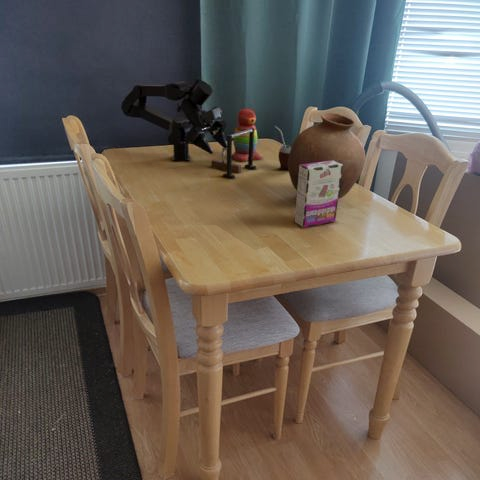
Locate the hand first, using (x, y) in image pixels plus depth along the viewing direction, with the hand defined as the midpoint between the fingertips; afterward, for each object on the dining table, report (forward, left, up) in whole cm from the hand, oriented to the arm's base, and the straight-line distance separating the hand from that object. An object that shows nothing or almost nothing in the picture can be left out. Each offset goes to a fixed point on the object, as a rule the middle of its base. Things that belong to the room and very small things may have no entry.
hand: (219, 150), depth 173 cm
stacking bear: (-15, +11, -6) cm, 19 cm away
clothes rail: (+5, +7, -6) cm, 11 cm away
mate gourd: (0, +25, -6) cm, 26 cm away
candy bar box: (+51, +26, -6) cm, 58 cm away
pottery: (+31, +32, -6) cm, 45 cm away
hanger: (+2, +2, -6) cm, 7 cm away
